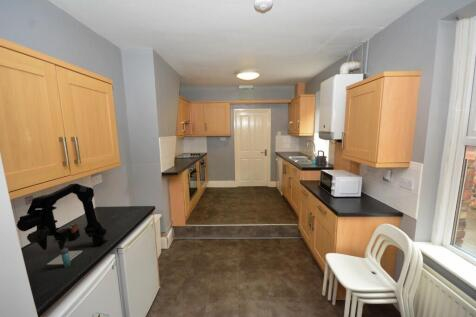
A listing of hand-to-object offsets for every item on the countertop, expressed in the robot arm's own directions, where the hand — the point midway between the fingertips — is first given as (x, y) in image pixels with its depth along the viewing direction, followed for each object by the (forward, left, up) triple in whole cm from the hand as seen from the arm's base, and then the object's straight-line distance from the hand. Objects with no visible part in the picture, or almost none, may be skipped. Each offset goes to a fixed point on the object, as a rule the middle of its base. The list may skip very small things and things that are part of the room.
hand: (53, 249), depth 102 cm
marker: (-7, -3, -15) cm, 17 cm away
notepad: (-14, -11, -15) cm, 23 cm away
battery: (-36, -25, -15) cm, 47 cm away
